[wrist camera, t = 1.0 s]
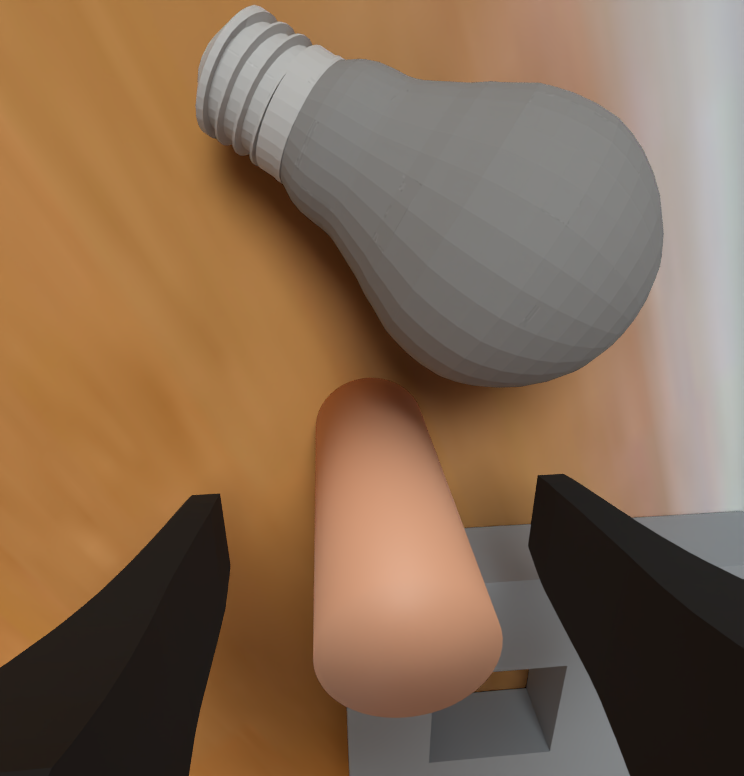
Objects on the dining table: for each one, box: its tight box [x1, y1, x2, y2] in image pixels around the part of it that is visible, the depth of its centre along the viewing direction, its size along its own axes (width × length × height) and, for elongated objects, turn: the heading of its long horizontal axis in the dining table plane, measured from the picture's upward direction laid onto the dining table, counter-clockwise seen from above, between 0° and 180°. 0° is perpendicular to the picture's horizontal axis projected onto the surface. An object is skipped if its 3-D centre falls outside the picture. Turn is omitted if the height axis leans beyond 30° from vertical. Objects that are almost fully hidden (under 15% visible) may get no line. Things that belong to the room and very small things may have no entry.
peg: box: [313, 378, 503, 718], centre depth 13 cm, size 3×3×8 cm
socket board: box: [347, 511, 744, 776], centre depth 20 cm, size 14×12×2 cm
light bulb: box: [196, 5, 664, 387], centre depth 11 cm, size 6×6×10 cm
